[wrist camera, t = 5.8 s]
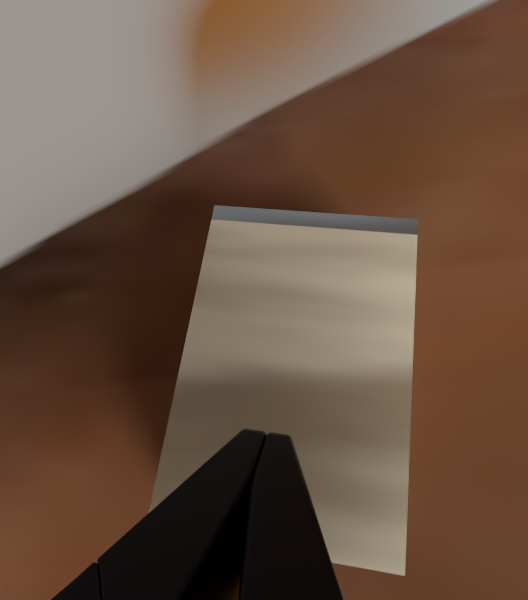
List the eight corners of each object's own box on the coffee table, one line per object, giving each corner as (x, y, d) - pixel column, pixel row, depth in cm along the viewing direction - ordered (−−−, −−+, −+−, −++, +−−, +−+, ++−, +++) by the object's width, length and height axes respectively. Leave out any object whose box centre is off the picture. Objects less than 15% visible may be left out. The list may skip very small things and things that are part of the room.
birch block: (404, 575, 10) (418, 219, 14) (144, 528, 11) (214, 205, 14) (382, 553, 14) (396, 277, 17) (187, 519, 15) (235, 263, 18)
